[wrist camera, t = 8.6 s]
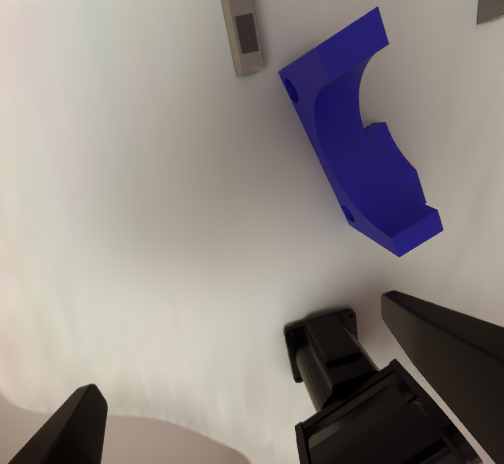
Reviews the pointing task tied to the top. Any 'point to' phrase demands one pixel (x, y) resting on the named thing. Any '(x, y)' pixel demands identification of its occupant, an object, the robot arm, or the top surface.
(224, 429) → the top surface
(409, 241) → the cable clip
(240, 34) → the rail bay
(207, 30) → the top surface
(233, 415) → the top surface
